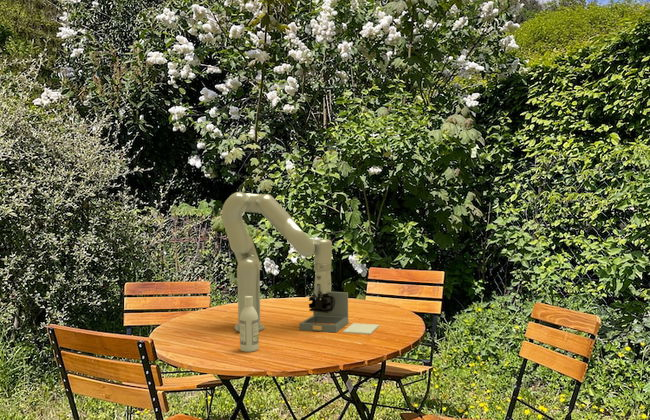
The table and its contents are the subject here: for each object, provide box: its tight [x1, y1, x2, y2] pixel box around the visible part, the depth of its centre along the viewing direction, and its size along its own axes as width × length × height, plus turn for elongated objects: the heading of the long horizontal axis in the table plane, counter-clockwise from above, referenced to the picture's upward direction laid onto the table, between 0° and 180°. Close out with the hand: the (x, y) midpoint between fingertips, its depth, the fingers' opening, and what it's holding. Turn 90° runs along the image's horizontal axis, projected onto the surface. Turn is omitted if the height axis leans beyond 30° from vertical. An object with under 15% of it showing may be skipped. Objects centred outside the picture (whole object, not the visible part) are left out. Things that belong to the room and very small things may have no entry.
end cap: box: [308, 293, 335, 313], centre depth 240 cm, size 10×7×7 cm
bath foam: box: [239, 296, 260, 353], centre depth 204 cm, size 7×7×20 cm
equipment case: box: [299, 290, 349, 333], centre depth 240 cm, size 19×16×14 cm
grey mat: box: [342, 322, 380, 336], centre depth 234 cm, size 16×12×1 cm
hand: (321, 307), depth 240 cm, fingers closed on end cap, 7 cm apart
